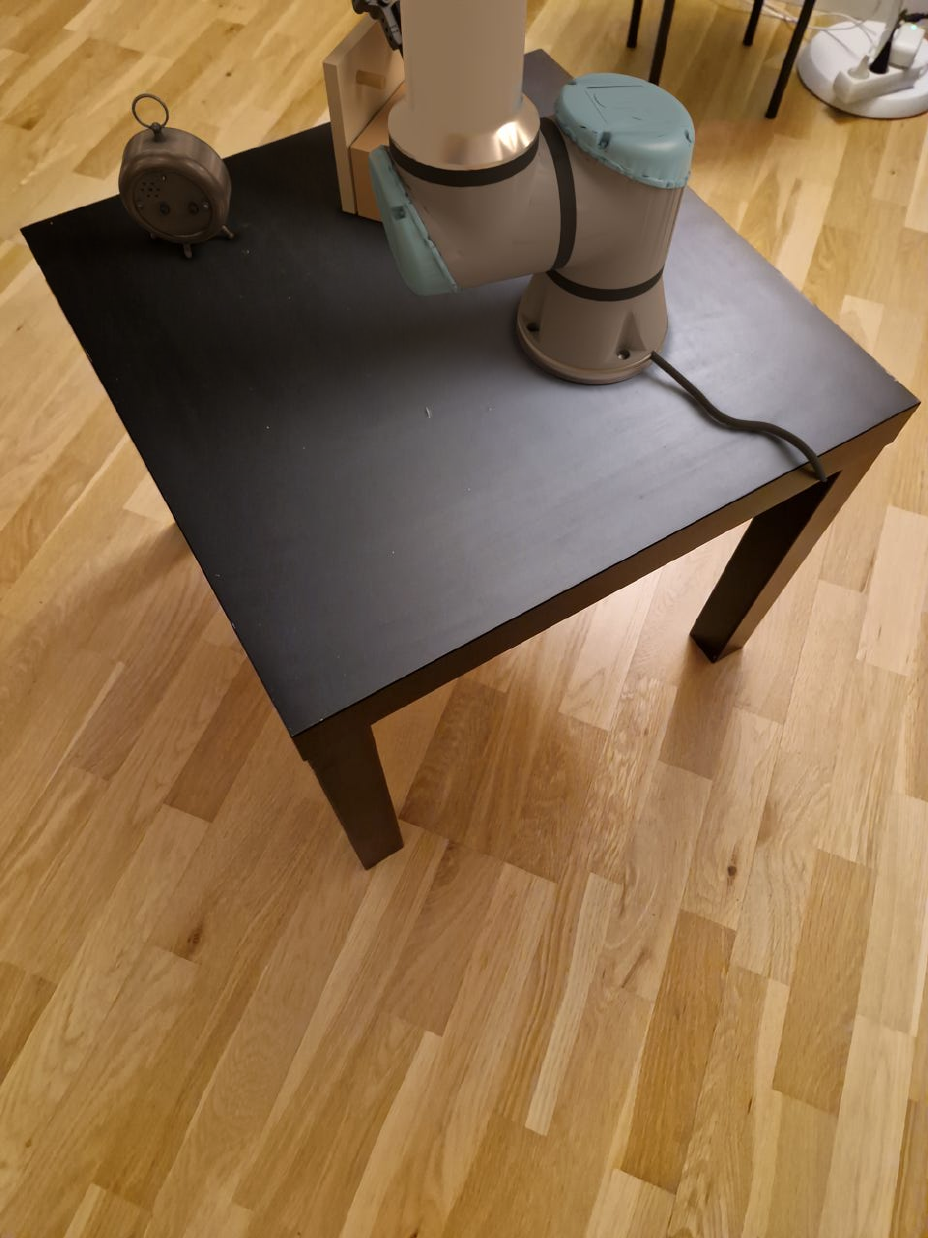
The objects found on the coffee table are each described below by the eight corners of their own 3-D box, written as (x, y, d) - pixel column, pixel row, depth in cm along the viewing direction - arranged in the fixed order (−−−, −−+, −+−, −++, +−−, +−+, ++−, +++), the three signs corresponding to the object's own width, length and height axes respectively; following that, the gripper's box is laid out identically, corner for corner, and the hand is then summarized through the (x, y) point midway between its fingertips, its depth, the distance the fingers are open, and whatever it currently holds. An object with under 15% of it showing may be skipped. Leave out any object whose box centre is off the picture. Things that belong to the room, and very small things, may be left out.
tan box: (523, 166, 99) (533, 17, 85) (470, 247, 92) (472, 99, 78) (402, 134, 102) (393, -16, 88) (342, 210, 95) (321, 61, 81)
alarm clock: (244, 228, 93) (205, 76, 79) (239, 260, 91) (198, 109, 76) (147, 230, 93) (90, 78, 79) (139, 262, 90) (79, 111, 76)
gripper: (446, -205, 80) (535, 43, 88) (244, -146, 74) (359, 116, 82) (480, -266, 74) (573, 9, 82) (261, -206, 67) (385, 85, 75)
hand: (466, 62), depth 82 cm, fingers closed on mug, 10 cm apart
